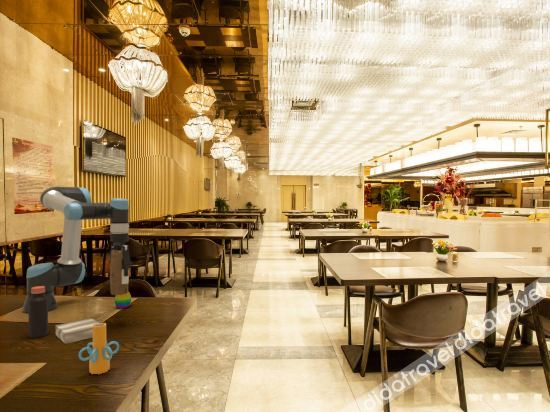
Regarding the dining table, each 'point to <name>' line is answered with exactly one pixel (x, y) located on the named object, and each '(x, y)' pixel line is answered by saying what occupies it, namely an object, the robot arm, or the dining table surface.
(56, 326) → the platform
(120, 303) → the decorative egg
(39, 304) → the bottle
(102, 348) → the orange vase with handles
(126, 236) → the robot arm
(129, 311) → the dining table surface
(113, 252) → the brown river rock
